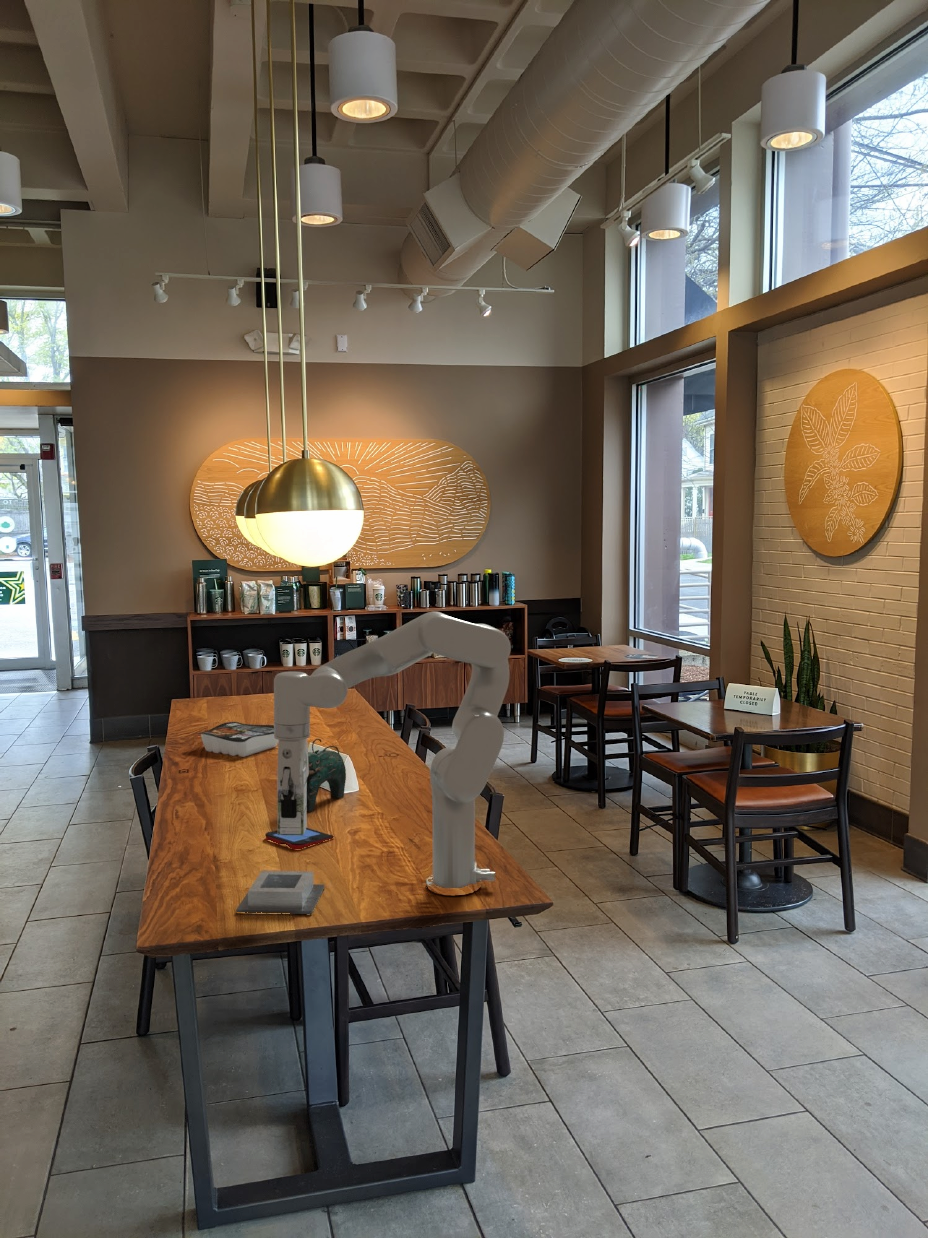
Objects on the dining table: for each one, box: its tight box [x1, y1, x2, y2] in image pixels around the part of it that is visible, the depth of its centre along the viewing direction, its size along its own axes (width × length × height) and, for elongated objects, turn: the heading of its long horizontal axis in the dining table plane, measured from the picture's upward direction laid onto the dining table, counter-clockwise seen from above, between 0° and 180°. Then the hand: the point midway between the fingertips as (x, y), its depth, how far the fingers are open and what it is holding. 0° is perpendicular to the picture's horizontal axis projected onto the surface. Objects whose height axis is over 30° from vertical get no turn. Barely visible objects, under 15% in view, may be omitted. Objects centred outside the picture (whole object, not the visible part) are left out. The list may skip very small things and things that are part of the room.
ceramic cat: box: [307, 738, 347, 814], centre depth 270 cm, size 20×6×20 cm, turn 151°
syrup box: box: [276, 767, 308, 835], centre depth 198 cm, size 6×6×14 cm
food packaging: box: [196, 721, 279, 758], centre depth 337 cm, size 25×8×23 cm
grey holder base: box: [235, 870, 325, 915], centre depth 201 cm, size 16×14×4 cm
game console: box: [265, 827, 335, 850], centre depth 241 cm, size 14×13×2 cm
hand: (292, 812), depth 199 cm, fingers closed on syrup box, 6 cm apart
